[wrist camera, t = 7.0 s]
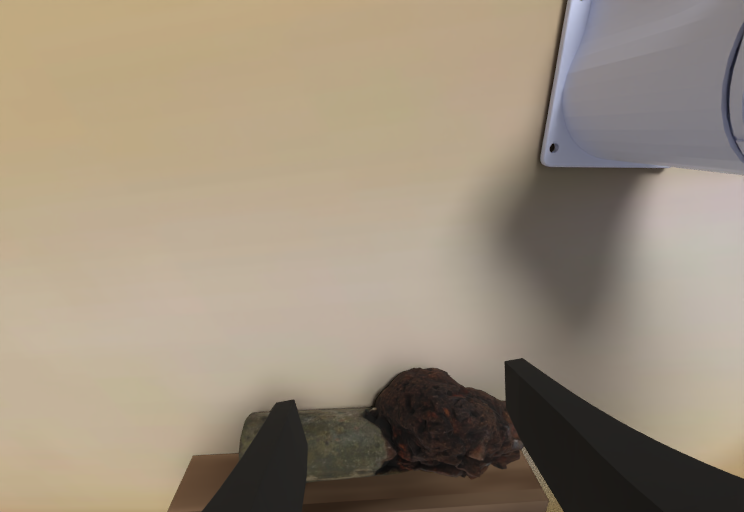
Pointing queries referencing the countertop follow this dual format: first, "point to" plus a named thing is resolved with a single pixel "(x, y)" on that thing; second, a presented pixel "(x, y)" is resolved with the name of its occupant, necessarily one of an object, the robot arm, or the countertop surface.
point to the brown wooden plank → (383, 490)
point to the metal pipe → (407, 432)
